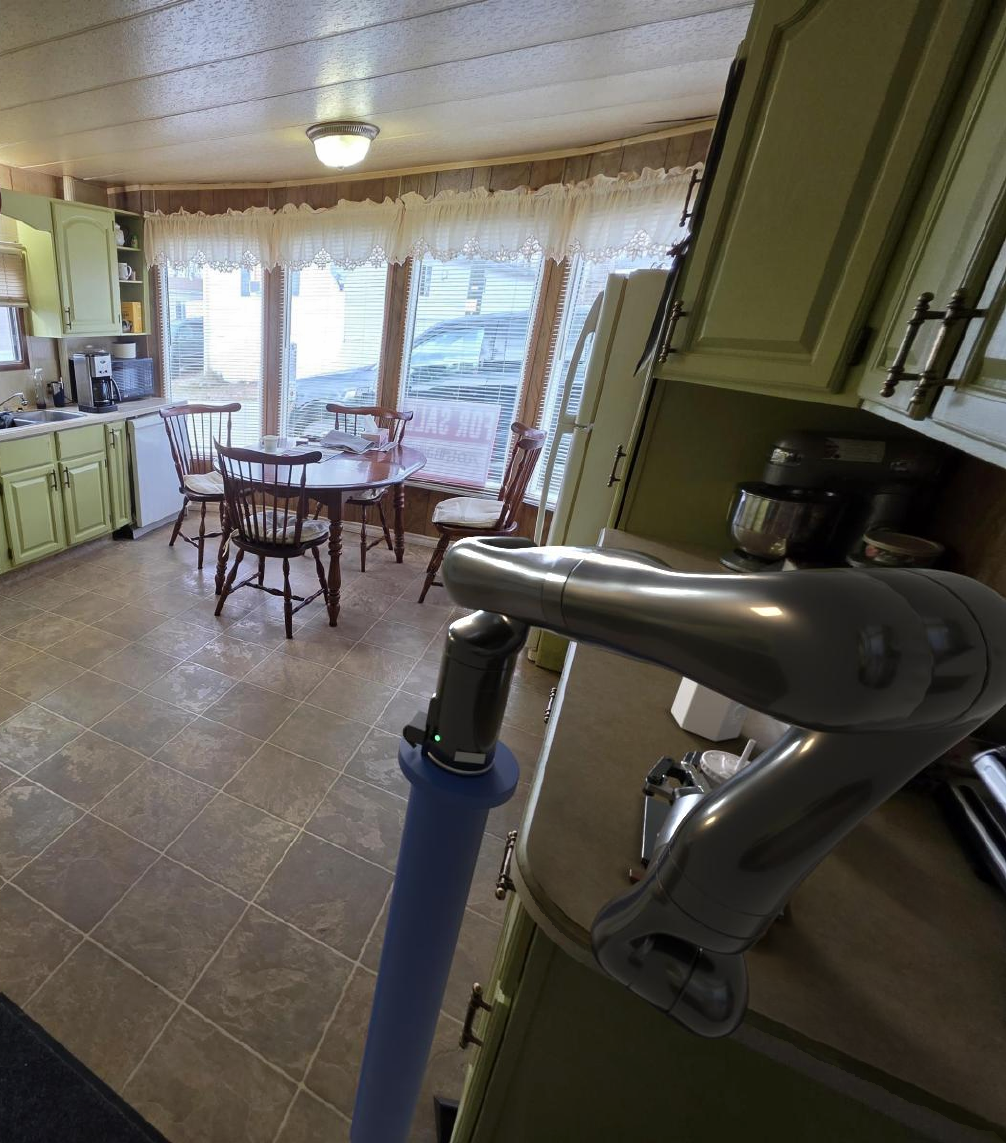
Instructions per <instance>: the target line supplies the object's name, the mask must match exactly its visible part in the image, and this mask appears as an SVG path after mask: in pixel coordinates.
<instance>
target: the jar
mask: <svg viewBox="0 0 1006 1143" xmlns="http://www.w3.org/2000/svg"><path fill="white" fill-rule="evenodd" d="M750 710H751V709H750V708H748V707H746V706H744V705H742V704H739V703H737V702H735V701H733V700H731V699H729V698H727V697H725V696H723V695H721V694H719V693H717V692H715V691H713V690H710V689H708V688H706V687H704V686H702V685H700V684H698V683H696V682H694V681H691V680H689V679H687V678H685V677H683V676H682V680H681V682H680V684H679V688H678V690H677V692H676V696H675V698H674V701H673V703H672V707H671V710H670V712H671V714H672V716H673V717H674V719H675V721H676V723H677V724H678V725H679V727H680V729H682V730H685V731H688V732H690V733H692V734H695V735H697V736H700V737H702V738H704V739H708V740H709V741H712V742H721V741H726V740H732V739H738V738H739V736H740V734H741V731H742V729H743V727H744V725H745V722H746V720H747V717H748V715H749V713H750Z"/></svg>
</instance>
